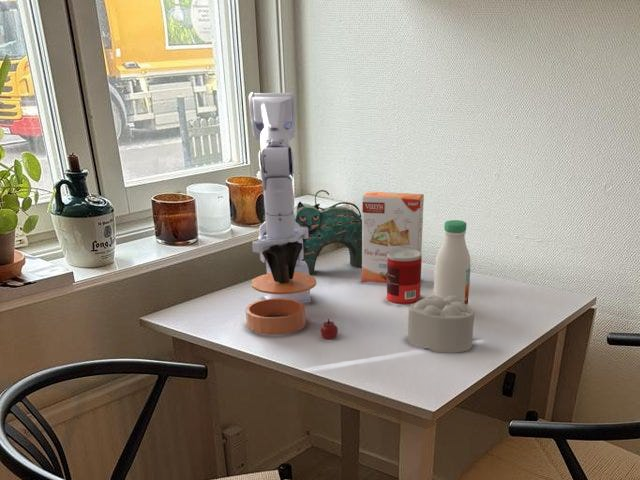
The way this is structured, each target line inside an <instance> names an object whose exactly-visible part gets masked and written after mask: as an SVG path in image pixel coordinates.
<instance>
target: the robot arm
mask: <svg viewBox="0 0 640 480" xmlns="http://www.w3.org/2000/svg"><path fill="white" fill-rule="evenodd" d="M295 95H296V94H294V93H293V91H289V92H252V91H251V92H250V93H249V95H248V107H249V120H250V123H251V133H252V134H253V138H254V139H255V140H257V141H259V142H260V150H259V151H258V163H259V174H260V175H259V176H260V178H261V186H262V190H263V202H264V203H263V205H264V216H265V221H264V222H263V223H262V224H260V225H259V228H258V239H257V240H254V241H252V242H251V246H252V247H251V248H252V252H253V253H257V254H259V261H261V263H263V264H264V263H265V267H266V274H269V273H272V275H273V278H274V281H275V282H279V283H283V281H284V263H288V264H289V276H290V279H293V276H294V272H299V273H304V274H308V275H310V274H309V269H308V266H307V264H306V262H305V261H302V260H303V239H307V238H308V229H307V228H302V227H300V225H299V224H298V223H297V222H295V221H294V208H295V207H294V187H293V179H294V176H295V162H294V161H295V160H294V152H293V148H292V145H291V144H290V141H291V140H292V139H293V138H295V133H296V122H297V113H296V111H297V110H296V96H295ZM263 298H264V299H271V298H284V299H292V300H297V301H299V302H301V303H303V304H305V303H311V302H312V300H311V289H310V290H307V291H304V292H300V293H294V294H267V295H264V296H263Z"/></svg>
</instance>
